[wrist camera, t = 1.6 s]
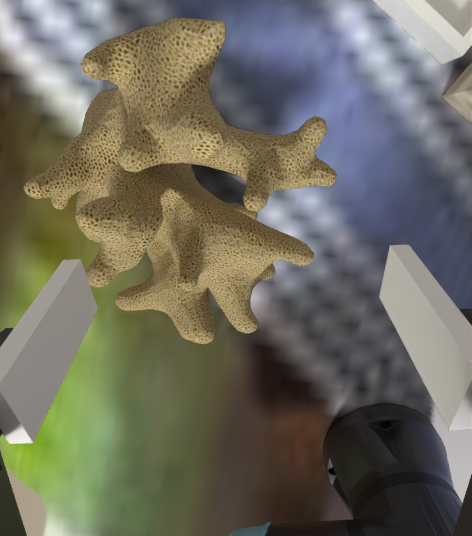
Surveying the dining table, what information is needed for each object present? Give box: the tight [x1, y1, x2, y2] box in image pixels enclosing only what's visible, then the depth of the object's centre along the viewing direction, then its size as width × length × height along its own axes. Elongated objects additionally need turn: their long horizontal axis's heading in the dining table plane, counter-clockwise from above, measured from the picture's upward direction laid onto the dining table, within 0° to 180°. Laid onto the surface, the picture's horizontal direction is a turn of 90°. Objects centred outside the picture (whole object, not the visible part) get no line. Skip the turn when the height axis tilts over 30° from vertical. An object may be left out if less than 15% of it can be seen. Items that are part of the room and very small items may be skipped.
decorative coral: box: [24, 17, 337, 344], centre depth 31 cm, size 26×22×25 cm
